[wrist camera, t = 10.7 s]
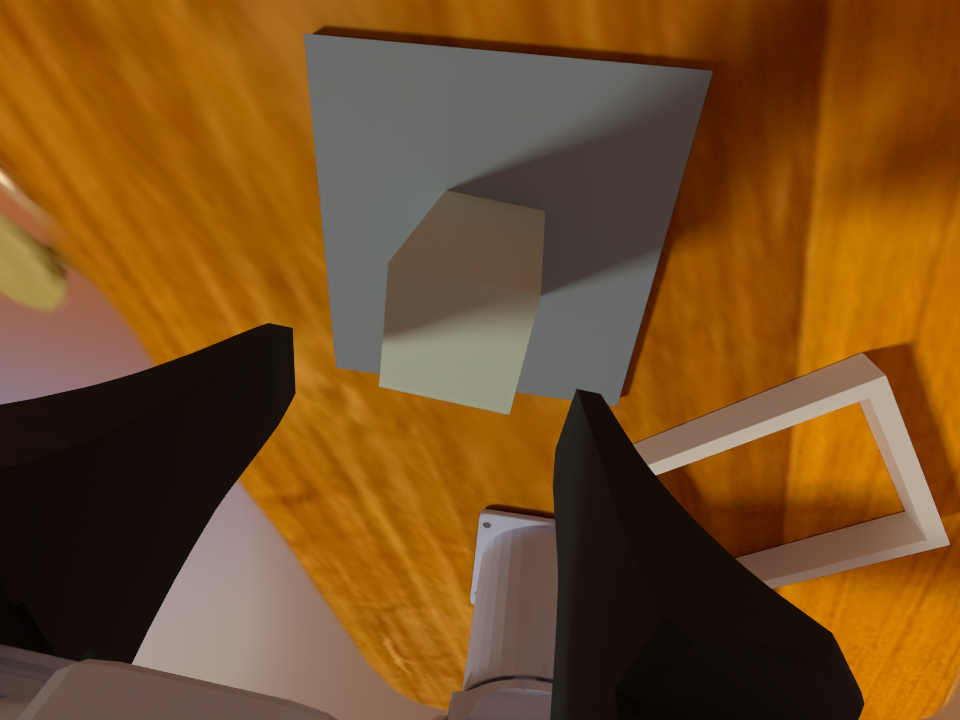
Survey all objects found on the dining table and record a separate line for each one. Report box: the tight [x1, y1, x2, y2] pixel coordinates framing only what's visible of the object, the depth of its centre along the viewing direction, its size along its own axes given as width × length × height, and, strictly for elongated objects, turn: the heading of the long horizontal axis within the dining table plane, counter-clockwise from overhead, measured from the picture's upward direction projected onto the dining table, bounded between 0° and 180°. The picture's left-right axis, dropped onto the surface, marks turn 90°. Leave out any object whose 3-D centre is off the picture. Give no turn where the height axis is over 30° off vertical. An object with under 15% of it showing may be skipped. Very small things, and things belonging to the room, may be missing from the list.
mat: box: [304, 34, 713, 406], centre depth 21 cm, size 14×14×1 cm
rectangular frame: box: [633, 353, 950, 589], centre depth 25 cm, size 12×12×2 cm
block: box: [379, 190, 545, 415], centre depth 17 cm, size 4×4×8 cm
